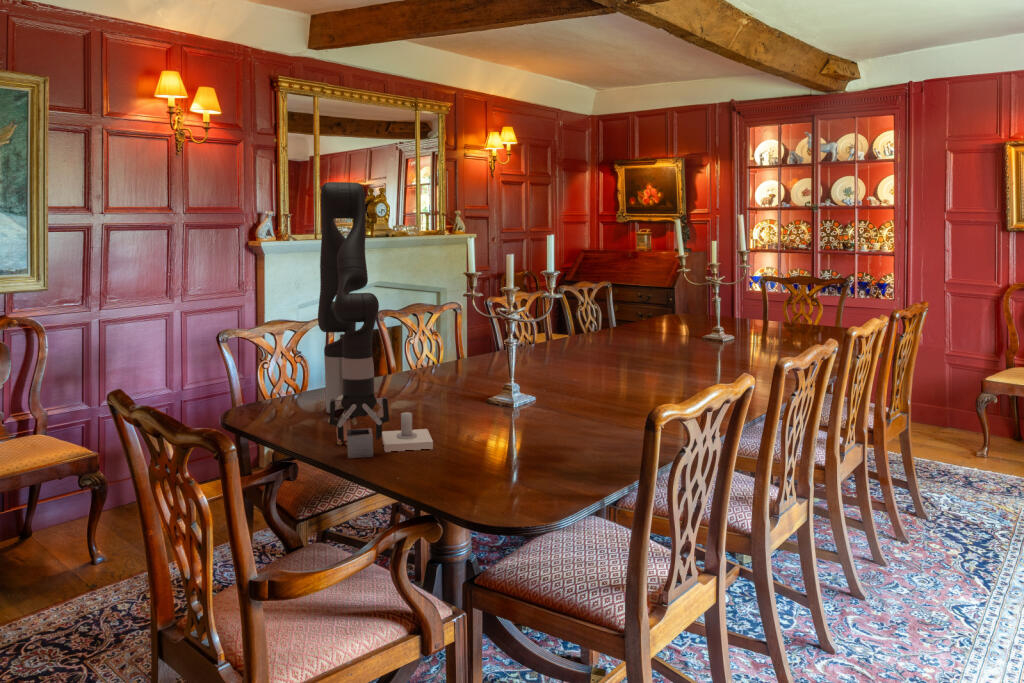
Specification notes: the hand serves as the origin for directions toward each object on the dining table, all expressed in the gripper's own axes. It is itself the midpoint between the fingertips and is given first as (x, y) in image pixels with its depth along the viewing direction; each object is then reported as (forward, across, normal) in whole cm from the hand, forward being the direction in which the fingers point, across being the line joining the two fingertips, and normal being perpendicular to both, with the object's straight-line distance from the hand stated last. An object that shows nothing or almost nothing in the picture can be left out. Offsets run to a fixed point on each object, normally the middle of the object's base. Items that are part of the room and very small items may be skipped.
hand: (360, 440), depth 185 cm
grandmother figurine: (+4, +4, -10) cm, 12 cm away
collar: (+4, 0, 0) cm, 4 cm away
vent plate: (+4, -12, -6) cm, 14 cm away
